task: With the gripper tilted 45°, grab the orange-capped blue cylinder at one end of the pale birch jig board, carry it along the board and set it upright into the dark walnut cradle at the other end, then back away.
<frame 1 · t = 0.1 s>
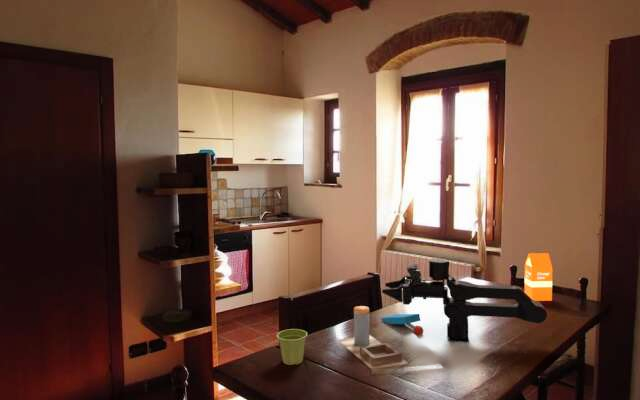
hand: (383, 287, 170), 17 cm above the table, tool horizontal, fingers open, 9 cm apart
jig: (380, 361, 147), on the table
plant pot: (292, 362, 149), on the table
lever: (404, 329, 177), on the table
orange juice: (537, 298, 211), on the table
orange-capped blue cylinder: (361, 343, 159), point 1 cm above the table, touching jig
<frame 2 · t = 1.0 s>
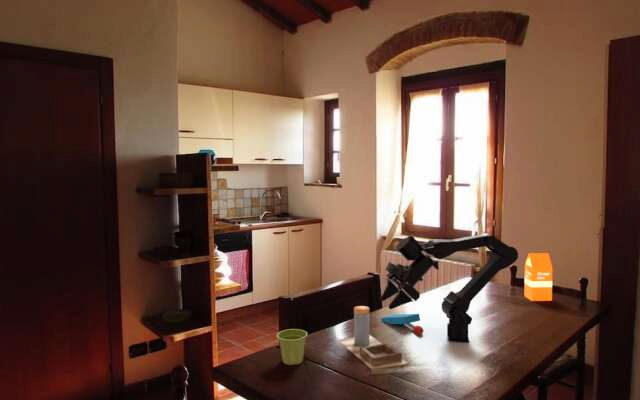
hand: (385, 304, 160), 14 cm above the table, tool tilted 45°, fingers open, 9 cm apart
nothing on the table moved.
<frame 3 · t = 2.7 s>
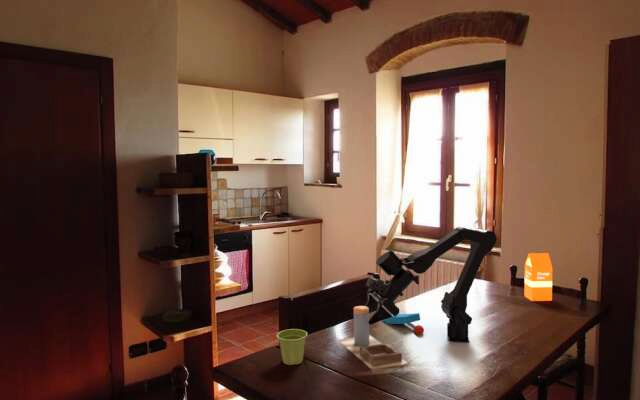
hand: (365, 319, 159), 9 cm above the table, tool tilted 45°, fingers open, 9 cm apart
nothing on the table moved.
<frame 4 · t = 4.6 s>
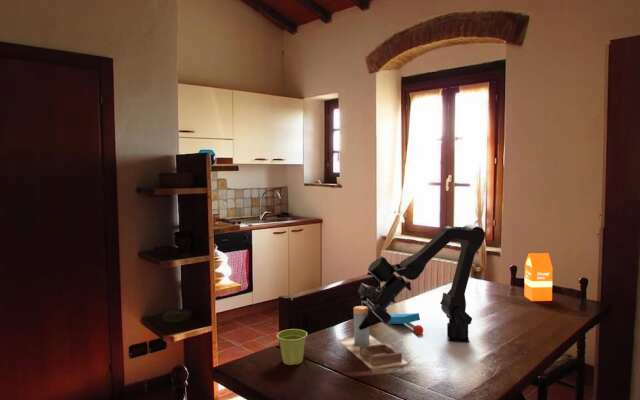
hand: (357, 326, 159), 7 cm above the table, tool tilted 45°, fingers closed on orange-capped blue cylinder, 5 cm apart
orange-capped blue cylinder: (361, 343, 159), point 1 cm above the table, touching gripper, jig
everything else where it was.
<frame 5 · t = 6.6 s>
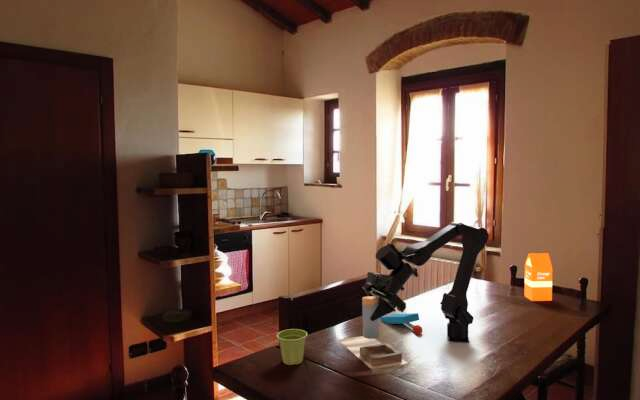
hand: (366, 317, 150), 12 cm above the table, tool tilted 45°, fingers closed on orange-capped blue cylinder, 5 cm apart
orange-capped blue cylinder: (371, 335, 151), point 6 cm above the table, touching gripper
everything else where it was.
when the fingers open (8 cm above the table, at t = 8.8 s): orange-capped blue cylinder drops 1 cm, resting on jig.
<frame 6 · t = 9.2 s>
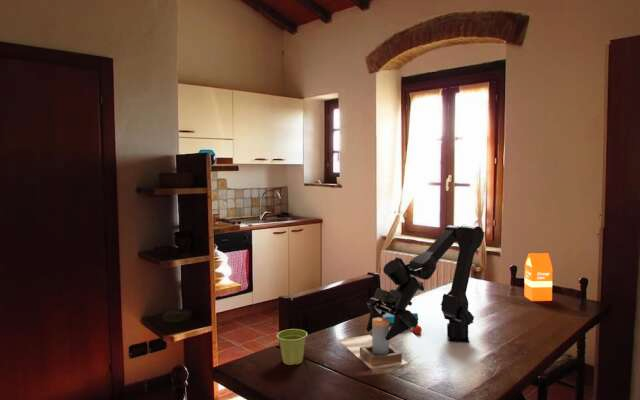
hand: (376, 335, 146), 9 cm above the table, tool tilted 45°, fingers open, 9 cm apart
orange-capped blue cylinder: (380, 358, 147), point 1 cm above the table, touching jig
everything else where it was.
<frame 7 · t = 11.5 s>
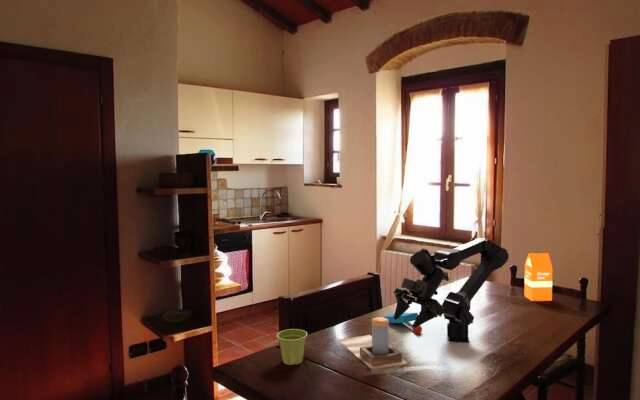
hand: (403, 323, 152), 10 cm above the table, tool tilted 45°, fingers open, 9 cm apart
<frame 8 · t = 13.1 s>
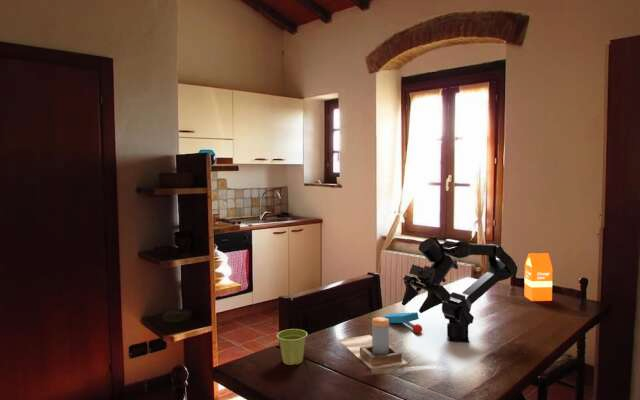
hand: (411, 308, 155), 14 cm above the table, tool tilted 45°, fingers open, 9 cm apart
at the end: orange-capped blue cylinder 0.0 cm off-centre on the jig, point 1.0 cm above the jig's base; orange-capped blue cylinder tilted 1°; the gripper is holding nothing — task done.
